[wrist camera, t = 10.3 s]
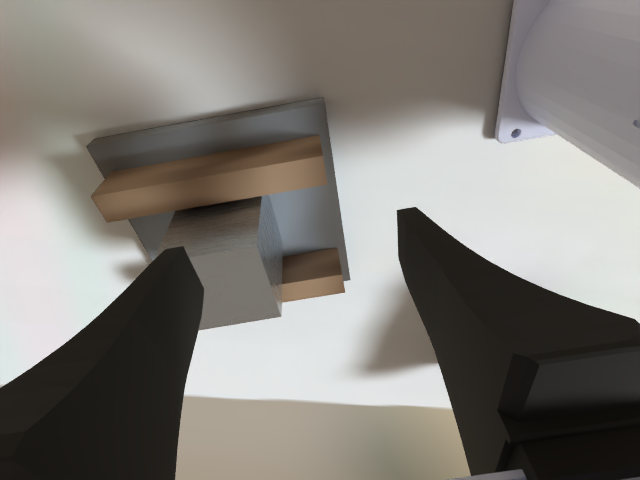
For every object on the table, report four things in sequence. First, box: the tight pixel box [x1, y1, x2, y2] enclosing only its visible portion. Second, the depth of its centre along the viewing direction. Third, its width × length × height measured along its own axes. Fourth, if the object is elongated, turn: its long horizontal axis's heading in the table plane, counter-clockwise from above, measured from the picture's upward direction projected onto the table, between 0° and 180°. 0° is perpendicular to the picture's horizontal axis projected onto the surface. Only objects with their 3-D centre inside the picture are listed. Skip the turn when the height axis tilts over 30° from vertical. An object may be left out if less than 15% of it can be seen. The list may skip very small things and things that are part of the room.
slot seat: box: [86, 98, 350, 302], centre depth 21 cm, size 12×12×4 cm
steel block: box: [153, 195, 283, 330], centre depth 19 cm, size 4×4×6 cm
